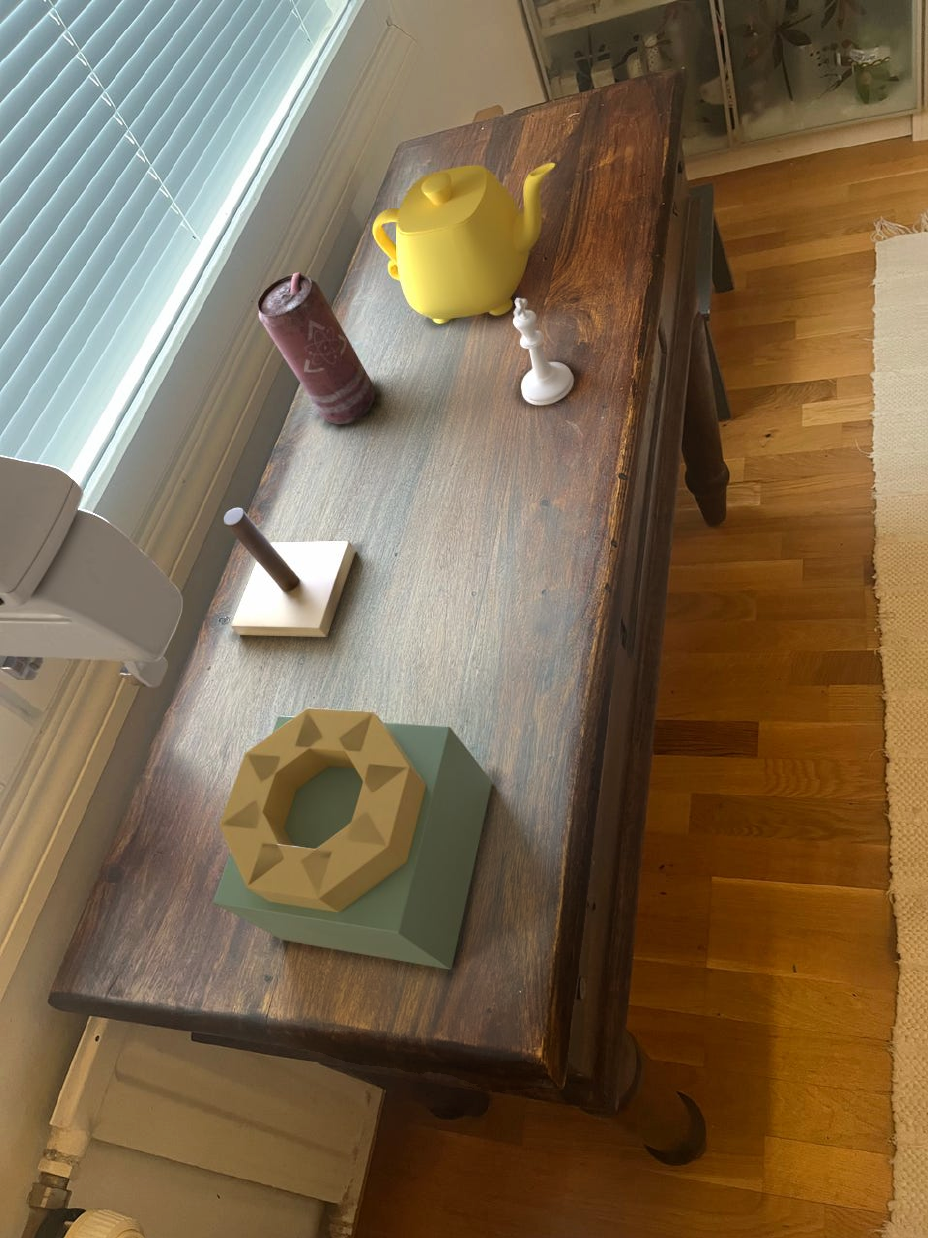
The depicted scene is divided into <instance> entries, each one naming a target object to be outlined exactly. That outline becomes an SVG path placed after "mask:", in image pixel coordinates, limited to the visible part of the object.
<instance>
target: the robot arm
mask: <svg viewBox="0 0 928 1238" xmlns="http://www.w3.org/2000/svg"><path fill="white" fill-rule="evenodd" d="M84 494H85V493H84V490H83V488H82V487H81V485H79V483H78V482H77V481H76V480H75V479H74V478H73V477H72V476H71V475H70V474H68V473H67V472H66V471H64V470H63V469H61V468H60V467H56V466H54V465H50V464H45V463H40V462H35V461H30V460H29V461H28V460H24V459H18V458H14V457H8V456H5V455H0V674H2V675H4V676H5V677H6V678H7V679H10V680H15V681H16V680H17V681H32V680H35V679H36V678H37V675H38V674H39V673H38V672H39V671H38V670H40V669H41V668H42V666H43V663H44V659H68V660H70V659H73V660H92V661H93V660H94V661H95V660H97V661H114V662H123V664H122V666H121V668H120V671H119V673H118V674H119V676H121V677H122V678H124V679H125V680H126V681H129V682H130V684H131V685H132V686H136V687H149V688H159V686H161V685H162V683H163V680H164V678H165V675H166V673H167V672H168V671H167V670H168V668H169V662H168V660H167V658H166V657H165V656H164V655H165V653H166V652H167V649H168V647H169V645H170V642H171V641H172V639H173V637H174V634H175V632H176V630H177V627H178V624H179V622H180V619H181V616H182V614H183V613H182V612H183V606H184V605H183V604H184V601H183V596H182V593H181V592H180V590H179V589H178V587H177V586H176V585H175V583H174V582H173V581H172V580H171V579H170V577H168V575H167V574H166V573H165V572H164V571H163V570H162V569H161V568H160V567H159V566H158V565H157V564H156V563H155V561H153V560H152V559H151V558H150V557H149V556H148V555H147V554H146V553H145V551H143V550H142V549H141V547H139V546H138V545H137V544H136V543H135V542H133V541H132V539H131V538H130V537H128V536H127V535H126V534H125V533H124V532H123V531H121V530H120V529H119V528H118V527H116V525H114V524H113V523H111V522H110V521H108V520H107V519H105V518H104V517H102V516H100V515H97V514H95V513H93V512H92V511H89V510H86V509H82V508H79V507H80V505H81V503H82V501H83V498H84Z"/></svg>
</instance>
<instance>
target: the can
mask: <svg viewBox="0 0 928 1238" xmlns="http://www.w3.org/2000/svg"><path fill="white" fill-rule="evenodd" d="M257 310H258V319H259V321H260V322H261V323H262V325H263V326H264V328H265V330H266V332H267V333H268V334H269V336H270V338H271V339H272V341H273V342H274V344H275V346H276V347H277V349H278V351H279V352H280V353H281V355H282V357H283V359H285V361H286V363H287V364H288V366H289V367H290V369H291V370H292V372H293V374H294V375H295V377H296V379H297V380H298V382H299V383H300V385H301V386H302V388H303V389H304V391H305V392H306V394H307V395H308V397H309V399H310V401H311V402H312V403H313V405H314V406H315V408H316V410H317V411H318V413H319V415H320V416H321V417H322V420H325V421H326V422H328V423H331V424H334V425H347V424H350V423H353V422H355V421H357V420H359V419H361V418H362V417H363V416H365V414H366V413H367V412H369V410H370V409H371V407H372V406H373V404H374V401H375V395H376V389H375V385H374V383H373V382H372V380H371V378H370V376H369V374H368V373H367V371H366V369H365V367H364V365H363V364H362V361H361V360H360V358H359V356H358V355H357V353H356V351H355V349H354V347H353V345H352V344H351V342H350V340H349V338H348V337H347V335H346V333H345V332H344V329H343V328H342V326H341V324H340V322H339V320H338V319H337V317H336V315H335V313H334V312H333V309H332V308H331V305H330V304H329V302H328V301H327V299H326V297H325V295H324V293H323V291H322V289H321V288H320V286H319V285H318V283H317V282H316V281H314V280H312V279H311V278H310V277H309V276H308V275H305V274H303V273H302V272H300V271H299V272H294V273H293V274H288V275H286V276H283V277H281V278H278V279H277V280H275V281H274V282H272V283H270V285H268V286H267V287H266V288H265V289H264V290H263V292H261V294H260V295H259V298H258V300H257Z"/></svg>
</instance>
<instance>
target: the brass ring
mask: <svg viewBox="0 0 928 1238" xmlns="http://www.w3.org/2000/svg"><path fill="white" fill-rule="evenodd" d="M293 717H294V718H292V719H291V720H290V721H288V722H287V723H286V724H284V725H283V726H282V727H280V728H279V729H277V730H276V731H275V732H273V731H272V732H273V733H272V732H271V733H270V734H269V735H268V736H267V737H265V738H264V739H261V741H260V742H258V743H257V744H256V745H254V746H253V747H251V748H250V749H248V751H246V752H245V753H244V755H243V758H242V760H241V763H240V766H239V769H238V771H237V775H236V777H235V780H234V783H233V785H232V789H231V791H230V794H229V797H228V800H227V802H226V805H225V807H224V811H223V814H222V816H221V819H220V821H219V824H218V827H219V829H220V831H221V834H222V836H223V838H224V840H225V842H226V845H227V846H228V849H229V851H230V852H231V853H232V856H233V858H234V860H235V862H236V865H237V867H238V869H239V871H240V873H241V876H242V878H243V880H244V882H245V885H246V887H247V888H248V889H250V890H251V891H253V892H255V893H256V894H258V895H260V896H261V897H263V898H265V899H267V900H268V901H270V902H275V903H282V904H288V905H294V906H300V907H307V908H313V909H319V910H326V911H332V912H338V913H339V912H341V911H342V910H344V909H345V908H346V907H348V906H349V905H350V904H352V903H353V902H354V901H356V900H357V899H358V898H360V897H361V896H362V895H364V894H365V893H366V892H368V891H369V890H370V889H372V888H373V887H374V886H376V885H377V884H378V883H380V882H381V881H382V880H384V879H385V878H386V877H388V876H389V875H390V874H392V873H393V872H394V871H396V870H397V869H398V868H400V867H401V866H402V865H404V864H405V863H406V862H407V859H408V855H409V851H410V847H411V843H412V839H413V835H414V831H415V827H416V823H417V819H418V815H419V812H420V808H421V804H422V800H423V796H424V792H425V788H426V784H425V782H424V781H423V779H422V777H421V776H420V774H419V773H418V771H417V770H416V768H415V767H414V765H413V764H412V762H411V761H410V759H409V758H408V756H407V755H406V753H405V752H404V750H403V748H402V747H401V745H400V744H399V742H398V741H397V739H396V738H395V736H394V735H393V733H392V732H391V730H390V729H389V728H388V727H387V726H386V725H385V724H384V723H385V722H384V721H383V720H382V719H381V718H380V717H379V715H377V713H376V712H375V711H370V710H369V711H368V710H349V709H335V708H316V707H307V708H305V709H303V710H302V711H301V712H299V713H298V714H296V715H295V716H293ZM383 722H384V723H383ZM328 766H334V767H345V768H356V770H357V772H358V773H359V775H360V777H361V778H362V780H363V785H362V788H361V791H360V795H359V798H358V802H357V805H356V809H355V812H354V816H353V819H352V822H351V823H350V824H349V825H347V826H346V827H345V828H343V829H342V830H341V831H339V832H338V833H337V834H335V835H334V836H333V837H331V838H330V839H329V840H327V841H326V842H325V843H323V844H322V845H321V846H319V847H318V848H317V849H312V848H304V847H296V846H293V845H292V843H291V841H290V839H289V837H288V835H287V833H286V831H285V829H284V827H285V824H286V821H287V817H288V814H289V811H290V808H291V805H292V802H293V799H294V796H295V793H296V790H297V789H298V788H300V787H301V786H302V785H304V784H305V783H306V782H308V781H309V780H311V779H312V778H313V777H315V776H316V775H317V774H319V773H320V772H321V771H323V770H324V769H325V768H327V767H328Z"/></svg>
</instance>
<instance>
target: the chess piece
mask: <svg viewBox="0 0 928 1238" xmlns="http://www.w3.org/2000/svg"><path fill="white" fill-rule="evenodd" d="M514 304H515V309H514V310H513V316H514V317H513V319H512V320H513V321H512V323H513V325H514V327H515V328H516V329H517V330H518V332H520V334H521V337H520V339H519V344H520V346H521V348H523V349H524V350H528V351H529V356H530V361H531V366H532V368H530V370H529V371H528V372H527V373H525V375H524V377H523V378H522V380H521V384H520V387H521V388H520V389H521V394H522V395H521V396H522V397H523V399H524V400H525V401H526V402H527V403H529V404H531V405H535V406H547V405H551V404H554V403H556V402H559V401H560V400H562V399H563V398H564V397H566V396H567V395H568V394H569V393H570V391H571V390H572V388H573V386H574V381H575V379H574V374H573V373H572V371H571V369H570V368H569V367H568V366H567V365H566V364H565V363H562V362H560V361H549V360H548V358H547V356H546V355H545V353H544V351H543V348H542V347H541V345H542V344H543V341H544V338H545V337H544V334H543V333H542V331H540V330H537V327H536V326H537V325H536V324H537V315H536V313H535V312H534V311H533V310H530V309H525V308H526V307H527V305H528V299H527V298H521V297H516V298H515V300H514Z"/></svg>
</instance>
